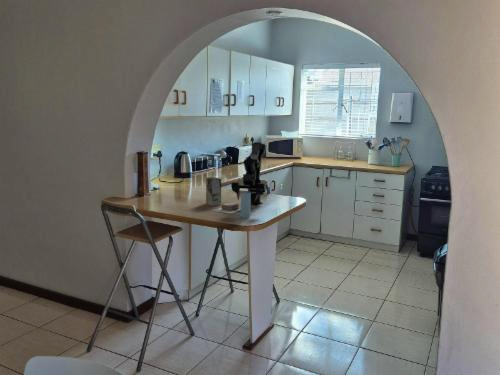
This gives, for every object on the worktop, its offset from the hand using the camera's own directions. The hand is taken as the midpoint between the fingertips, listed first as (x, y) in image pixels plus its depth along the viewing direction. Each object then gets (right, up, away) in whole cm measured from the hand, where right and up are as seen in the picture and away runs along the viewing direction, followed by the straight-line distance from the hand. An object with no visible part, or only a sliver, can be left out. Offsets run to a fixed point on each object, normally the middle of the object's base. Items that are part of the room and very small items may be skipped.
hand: (246, 200), depth 246 cm
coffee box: (-20, -4, +29) cm, 36 cm away
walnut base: (-10, -6, +15) cm, 19 cm away
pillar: (0, -9, 0) cm, 9 cm away
